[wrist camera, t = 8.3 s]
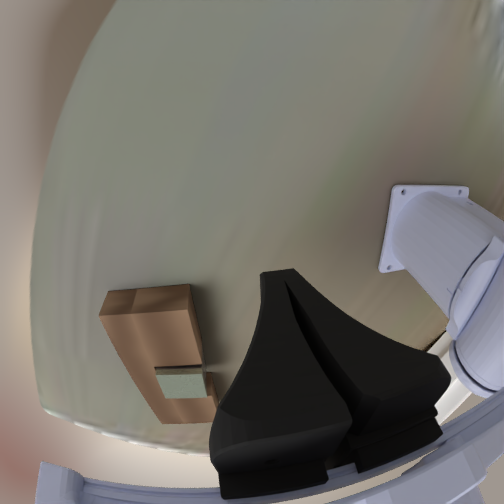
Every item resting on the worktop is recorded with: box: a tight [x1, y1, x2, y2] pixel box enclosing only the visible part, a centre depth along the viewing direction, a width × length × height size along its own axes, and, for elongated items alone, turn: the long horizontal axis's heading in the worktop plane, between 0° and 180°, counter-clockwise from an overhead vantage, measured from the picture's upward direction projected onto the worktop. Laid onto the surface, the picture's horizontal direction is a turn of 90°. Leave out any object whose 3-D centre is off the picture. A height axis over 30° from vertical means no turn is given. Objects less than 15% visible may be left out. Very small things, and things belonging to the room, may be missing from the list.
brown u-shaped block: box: [99, 284, 219, 424], centre depth 25 cm, size 7×18×3 cm, turn 3°
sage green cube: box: [155, 347, 207, 398], centre depth 25 cm, size 4×4×4 cm
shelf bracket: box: [427, 331, 472, 425], centre depth 30 cm, size 6×25×13 cm, turn 123°
